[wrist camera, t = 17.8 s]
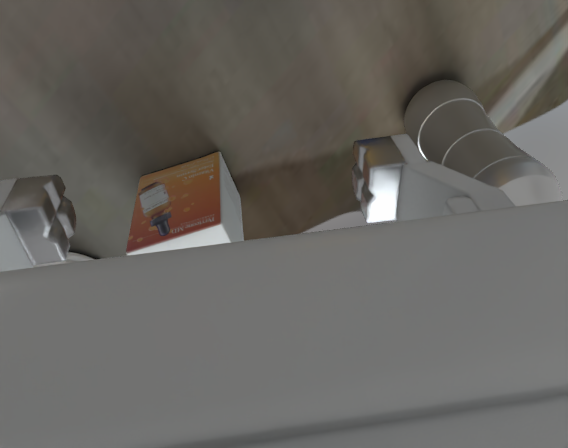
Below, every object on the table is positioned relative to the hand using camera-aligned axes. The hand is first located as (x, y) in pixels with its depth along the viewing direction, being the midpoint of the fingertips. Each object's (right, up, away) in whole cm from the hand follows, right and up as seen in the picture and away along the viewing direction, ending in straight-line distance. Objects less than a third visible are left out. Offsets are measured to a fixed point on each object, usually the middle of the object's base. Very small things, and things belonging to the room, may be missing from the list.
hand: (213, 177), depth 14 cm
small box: (-7, +2, +33) cm, 33 cm away
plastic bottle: (+15, +9, +31) cm, 35 cm away
